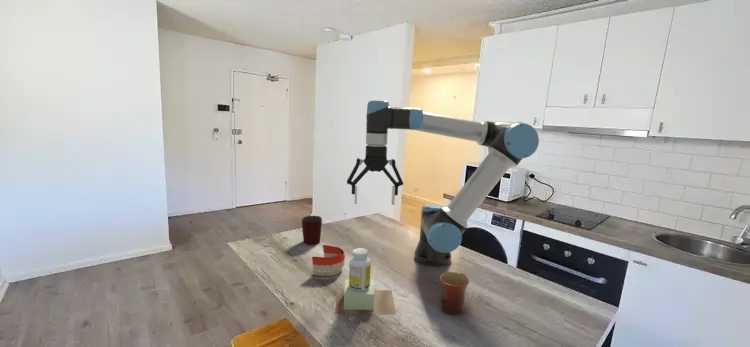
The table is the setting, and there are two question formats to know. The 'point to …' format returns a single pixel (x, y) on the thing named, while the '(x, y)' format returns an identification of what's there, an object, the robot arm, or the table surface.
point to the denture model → (329, 261)
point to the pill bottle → (359, 270)
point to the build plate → (381, 303)
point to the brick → (358, 297)
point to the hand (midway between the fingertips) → (374, 203)
